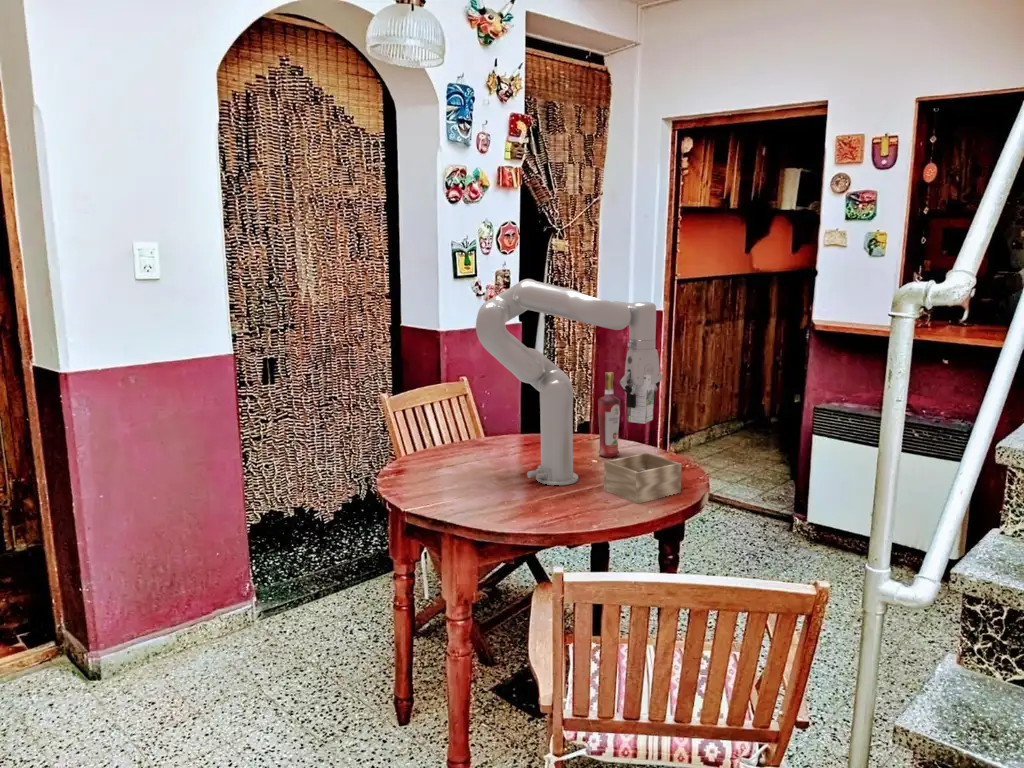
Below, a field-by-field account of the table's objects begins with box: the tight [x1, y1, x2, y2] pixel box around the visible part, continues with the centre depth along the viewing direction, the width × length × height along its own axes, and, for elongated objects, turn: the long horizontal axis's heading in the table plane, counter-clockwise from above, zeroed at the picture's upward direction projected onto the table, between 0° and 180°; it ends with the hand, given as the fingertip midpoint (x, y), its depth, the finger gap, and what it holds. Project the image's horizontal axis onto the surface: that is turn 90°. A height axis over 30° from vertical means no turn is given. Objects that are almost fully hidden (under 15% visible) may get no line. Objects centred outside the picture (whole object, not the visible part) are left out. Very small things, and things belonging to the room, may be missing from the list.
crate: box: [603, 452, 682, 504], centre depth 209 cm, size 16×14×8 cm
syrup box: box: [627, 375, 655, 425], centre depth 217 cm, size 6×6×14 cm
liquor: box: [597, 371, 621, 458], centre depth 246 cm, size 7×7×28 cm
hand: (640, 405), depth 218 cm, fingers closed on syrup box, 7 cm apart
